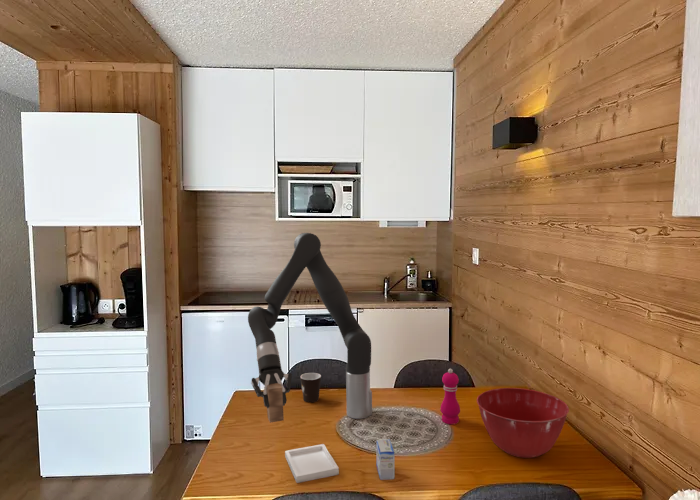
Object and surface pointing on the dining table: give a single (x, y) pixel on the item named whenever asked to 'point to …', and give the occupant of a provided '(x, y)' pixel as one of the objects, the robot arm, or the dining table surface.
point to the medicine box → (385, 459)
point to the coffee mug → (310, 386)
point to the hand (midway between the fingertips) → (276, 405)
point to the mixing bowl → (522, 420)
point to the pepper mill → (450, 398)
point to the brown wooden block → (275, 402)
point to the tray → (311, 463)
